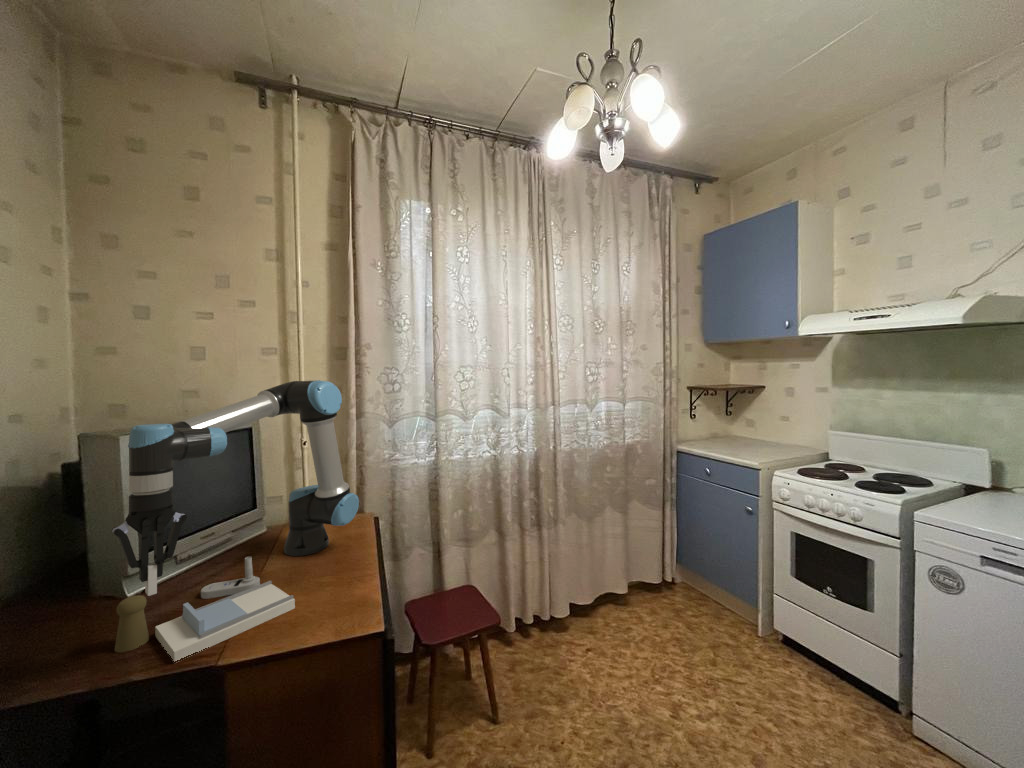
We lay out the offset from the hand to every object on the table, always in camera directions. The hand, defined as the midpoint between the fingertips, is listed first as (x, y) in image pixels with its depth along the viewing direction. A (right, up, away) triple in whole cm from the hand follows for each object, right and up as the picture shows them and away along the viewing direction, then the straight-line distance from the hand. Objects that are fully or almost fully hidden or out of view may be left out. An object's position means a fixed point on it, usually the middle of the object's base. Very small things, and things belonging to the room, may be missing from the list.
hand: (151, 592), depth 90 cm
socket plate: (+9, -14, +12) cm, 21 cm away
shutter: (+7, -12, +10) cm, 17 cm away
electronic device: (-1, -15, +28) cm, 31 cm away
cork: (-8, -15, +4) cm, 17 cm away
